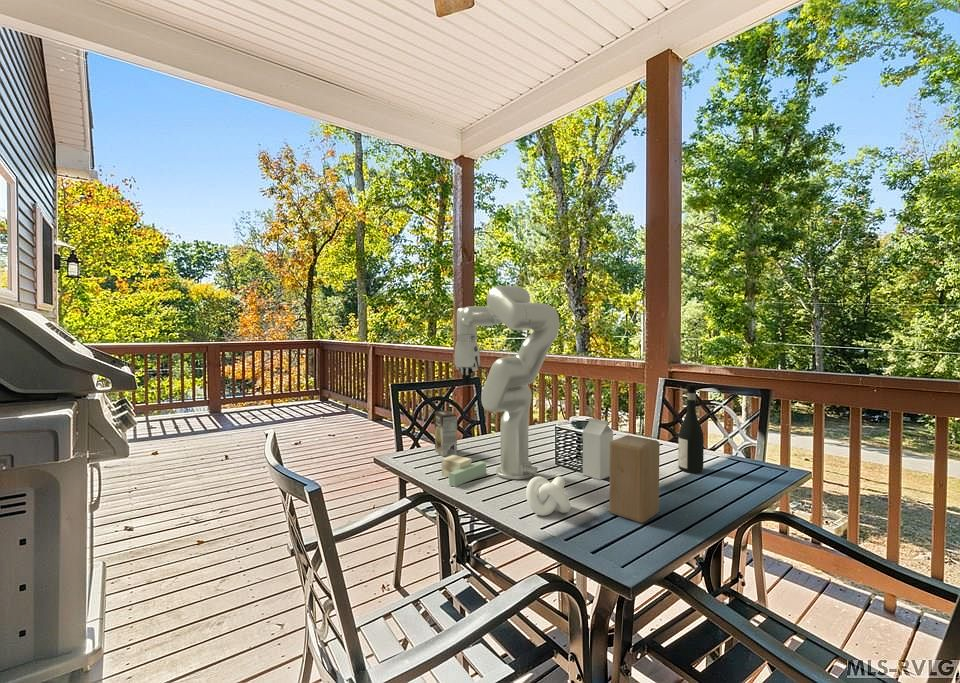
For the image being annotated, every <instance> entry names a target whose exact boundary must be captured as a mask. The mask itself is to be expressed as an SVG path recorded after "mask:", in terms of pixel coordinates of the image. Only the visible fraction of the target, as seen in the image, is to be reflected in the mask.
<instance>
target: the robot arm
mask: <svg viewBox="0 0 960 683" xmlns="http://www.w3.org/2000/svg"><path fill="white" fill-rule="evenodd" d="M486 303H487V305H485V306H483V305H482V306H480V305H479V306H478V305H477V306H473V305H471V306H465V307H459V308H457V310H456V342H455V346H454V347H455V348H454V357H453V358H454V365H455V369H456V370H457V371H459V372H460V375H461V376H462V378H461V379H462V380H461V381H462V386H470V385H471V384H472V378H471V377H472V375H473V373H474V372H476V371H478V370H479V367H480V365H481V359H480V358H481V356H480V348H479V344H478V342H477V339H478V336H477V331H476V330H477V327H489V326H490V327H493V326H496V325H499V324H501V323H502V324H503V325H504V326H505V327H507V328H508V329H509V330H515V331H528V330H529V331H530V330H533V331H532V332H531V333H530V334H528V336H526V338H525V339H524V340H523V341H522V343H521V345H520V348H519V350H518V352H517V354H516V355H514V356H504V357H499V358H498V359H496V360H495V361H494V362H493V363H492V365H491V366H490V367H491V368H489V372H488V375H487V376H486V380H485V382H484V386H483V389H482V390H481V399H480V400H481V405H482V407H483V408H484V409H485V410H486V411H487V412H488V413H501V412H502V413H503V414H502V416H501V420H500V466H498V467H497V468H496V470H495V472H496V473H495V474H496V475H497V476H498V477H500V478H502V479H508V480H523V479H524V480H525V479H528V478H530V477H532V476H533V475H537V473H538V466H534V465H533V464H532V460H529V459H530V458H529V457H530V456H529V455H530V454H529V428H530V427H529V420H530V419H529V418H530V417H529V416H530V408H531V404H532V403H531V402H532V396H533V394H532V390H531V388H530V386H529V385H530V384H533V383H534V382H535V380H536V379H537V377H538V375H539V373H540V370H541V368H542V366H543V364H544V361H545V359H546V356H547V354H548V352H549V350H550V349H551V347H552V345H553V343H555V340H556V338H557V336H558V333H559V329H560V318H559V314H558V312H557V310H556V308H555V307H553V306H552V305H550V304H548V303H542V302H531V296H530V292H528V291H527V290H526V289H525V288H523V287H521V286H517V285H515V286H514V285H513V286H512V285H496V286H492V288H490V290H489V291H488V293H487V295H486Z"/></svg>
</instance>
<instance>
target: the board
mask: <svg viewBox="0 0 960 683" xmlns="http://www.w3.org/2000/svg"><path fill="white" fill-rule="evenodd" d="M485 475H487V462H486V461H482V460H479V461H477V462H474V463H471V465H469V466H466V467H463V468H461V469H458V470H455V471H453V472H450V473H449V478H448V479H449V480H448V483H449V484H448V486H451V487H454V488H455V487H458V486H461V485H463V484H465V483H467V482H470V481H472V480H475V479H478V478H480V477H482V476H485Z"/></svg>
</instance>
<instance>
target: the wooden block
mask: <svg viewBox="0 0 960 683" xmlns="http://www.w3.org/2000/svg"><path fill="white" fill-rule="evenodd" d="M608 494H609V506H608V507H609V508H608V510H609V513H610V514H613V515H616V516H618V517H622V518H624V519H627V520H628V519H629V520H630V521H631V520H632V521H634V522H636V523H641V524H643V523H645V522H647V521H648V520H650V519H651V518H653V517H654V516H656V515H658V514H659V511H660V442H659V441H658V440H656V439H651V438H645V437H639V436H635V435H630V434H627V435H624V436H621V437H618V438H614V439H613V440H612V441H611V442H610V476H609V493H608Z"/></svg>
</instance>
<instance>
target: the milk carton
mask: <svg viewBox="0 0 960 683" xmlns="http://www.w3.org/2000/svg"><path fill="white" fill-rule="evenodd" d="M612 440H614V431H613V430H612V429H611V427H610V426H609V425H608V420H602V419H597V418H592V417H589V418H588V422H587V424H586V426H585V427H584V428H583V431H582V475H583V476H586V477H590V478H593V479H596V480H599V481H601V480H604V479H607V478H610V442H611V441H612Z"/></svg>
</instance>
